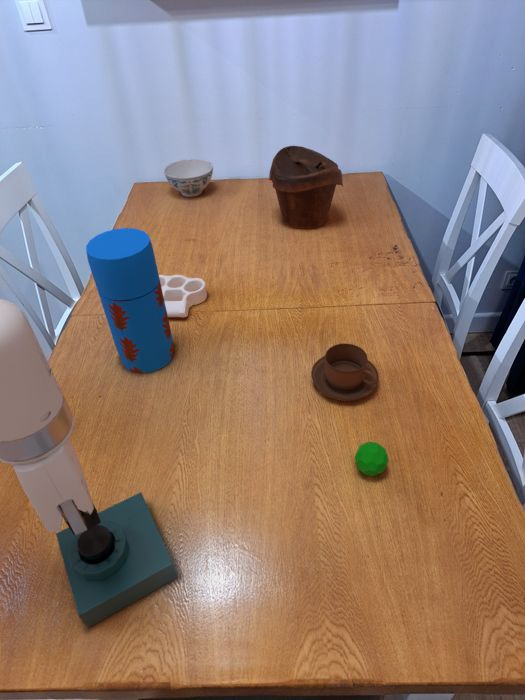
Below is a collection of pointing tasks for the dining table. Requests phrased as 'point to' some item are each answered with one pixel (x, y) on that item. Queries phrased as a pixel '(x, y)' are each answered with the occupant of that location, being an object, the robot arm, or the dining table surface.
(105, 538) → the knob
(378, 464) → the polyhedron
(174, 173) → the chinaware
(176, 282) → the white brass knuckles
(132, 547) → the push-button housing
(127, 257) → the thermos
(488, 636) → the dining table surface
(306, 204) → the brown lidded bucket
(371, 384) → the cup and saucer
